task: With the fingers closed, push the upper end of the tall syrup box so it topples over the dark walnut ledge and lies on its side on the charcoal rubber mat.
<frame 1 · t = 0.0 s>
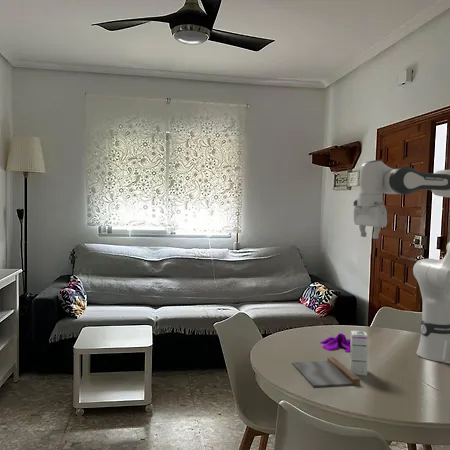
hand: (369, 237, 177), 48 cm above the table, fingers open, 8 cm apart
cloth: (338, 347, 196), on the table
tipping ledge: (342, 372, 164), on the table
syrup box: (358, 372, 165), on the table
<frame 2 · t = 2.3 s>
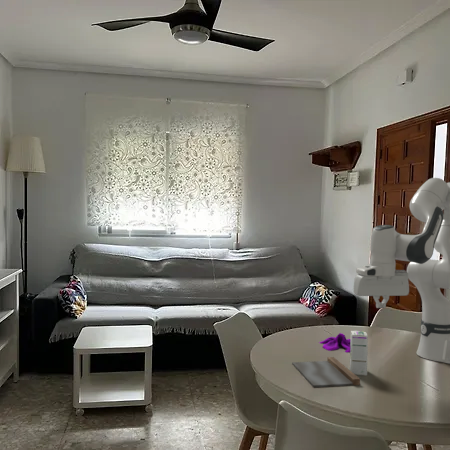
hand: (380, 307, 165), 23 cm above the table, fingers closed
nothing on the table moved.
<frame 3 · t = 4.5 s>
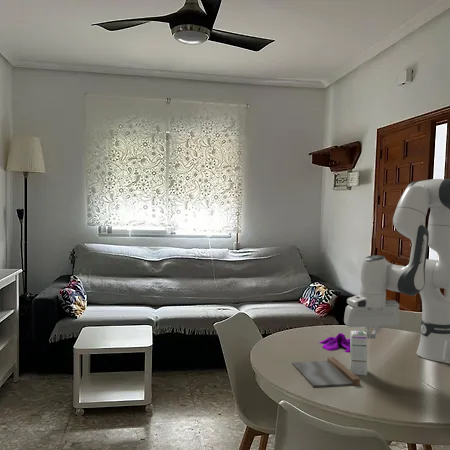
hand: (371, 338, 165), 12 cm above the table, fingers closed
syrup box: (358, 372, 165), on the table, touching gripper
everything else where it was.
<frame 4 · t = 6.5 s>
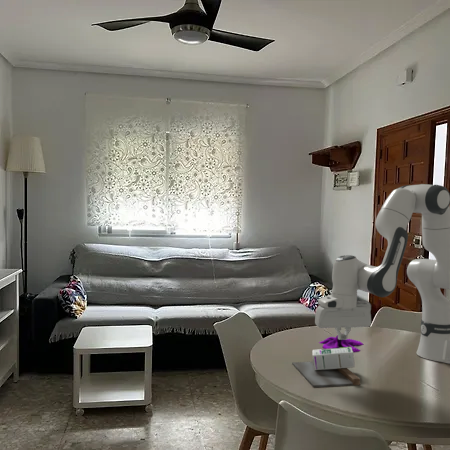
hand: (342, 339, 163), 12 cm above the table, fingers closed
syrup box: (353, 357, 164), point 6 cm above the table, touching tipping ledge
everything else where it was.
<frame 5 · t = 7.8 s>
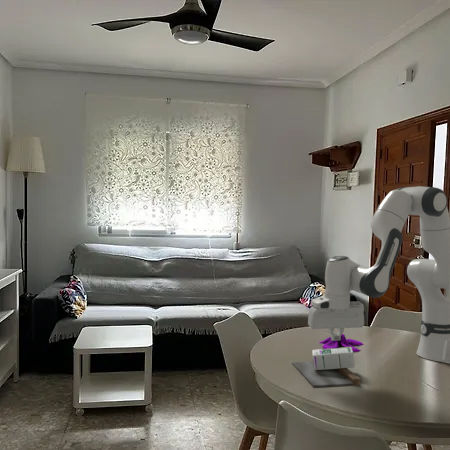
hand: (335, 340, 162), 12 cm above the table, fingers closed
nothing on the table moved.
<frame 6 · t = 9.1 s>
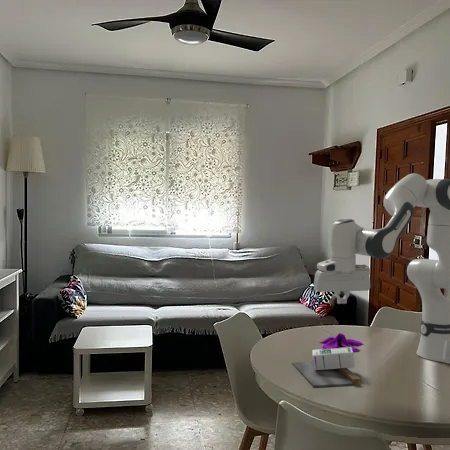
hand: (341, 303, 162), 25 cm above the table, fingers closed
nothing on the table moved.
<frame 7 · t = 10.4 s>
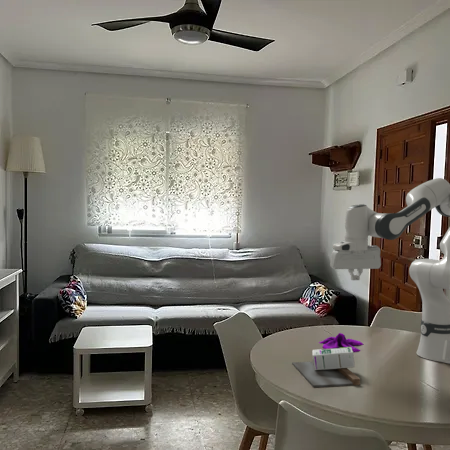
hand: (355, 280, 181), 31 cm above the table, fingers closed
nothing on the table moved.
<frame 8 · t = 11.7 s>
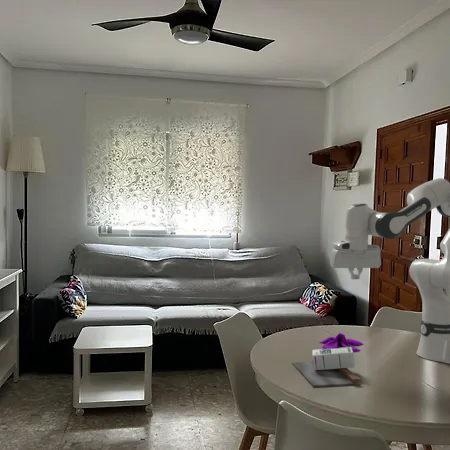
hand: (355, 279, 181), 31 cm above the table, fingers closed
nothing on the table moved.
at the end: syrup box tilted 98°; syrup box inside the target area (7.1 cm from its centre), point 5.6 cm above the table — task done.
